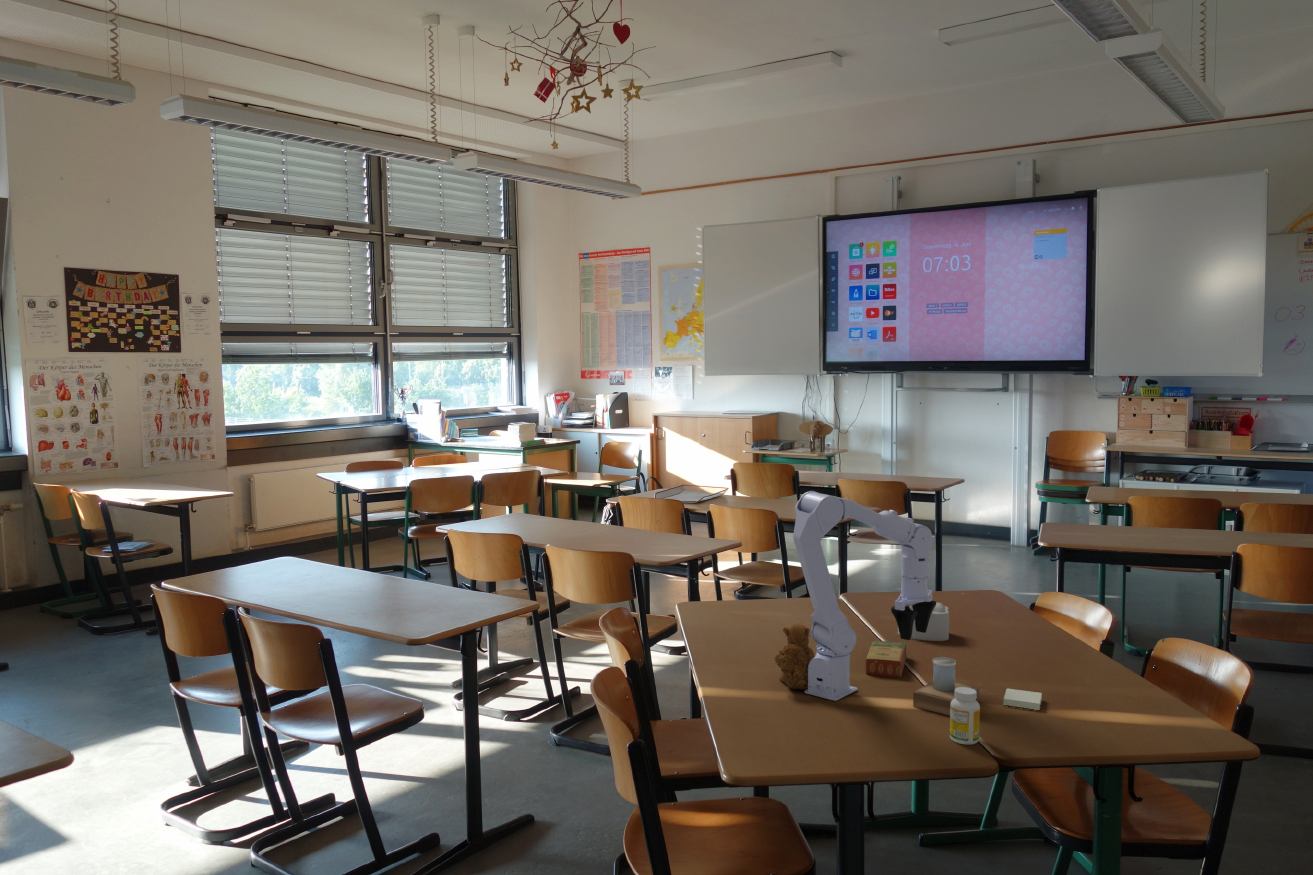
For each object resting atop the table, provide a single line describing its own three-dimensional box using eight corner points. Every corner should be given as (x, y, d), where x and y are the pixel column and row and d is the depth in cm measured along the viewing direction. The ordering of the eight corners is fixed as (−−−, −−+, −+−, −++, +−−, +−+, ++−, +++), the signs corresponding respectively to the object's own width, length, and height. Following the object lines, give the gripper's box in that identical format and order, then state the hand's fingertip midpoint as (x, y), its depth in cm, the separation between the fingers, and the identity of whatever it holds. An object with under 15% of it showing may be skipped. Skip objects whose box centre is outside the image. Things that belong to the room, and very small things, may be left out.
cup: (949, 693, 193) (949, 665, 193) (928, 688, 196) (928, 660, 196) (959, 687, 197) (959, 659, 196) (938, 682, 200) (938, 655, 199)
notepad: (1039, 712, 192) (1039, 703, 192) (1003, 707, 195) (1003, 698, 195) (1041, 701, 198) (1041, 692, 198) (1006, 697, 201) (1006, 688, 201)
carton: (864, 675, 216) (864, 657, 216) (871, 655, 231) (871, 638, 231) (901, 678, 213) (901, 660, 213) (906, 658, 228) (906, 641, 228)
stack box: (954, 716, 189) (954, 701, 189) (913, 706, 195) (913, 691, 195) (978, 700, 198) (978, 686, 198) (938, 691, 204) (938, 677, 204)
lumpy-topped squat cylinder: (949, 641, 241) (949, 609, 240) (897, 638, 245) (897, 605, 244) (947, 631, 251) (948, 599, 250) (898, 627, 255) (898, 596, 254)
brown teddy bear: (824, 676, 215) (825, 620, 214) (815, 696, 201) (816, 636, 200) (781, 672, 218) (781, 616, 217) (770, 692, 204) (770, 633, 203)
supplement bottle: (956, 745, 174) (957, 695, 174) (945, 734, 180) (945, 686, 179) (984, 744, 175) (985, 694, 174) (971, 733, 180) (972, 685, 179)
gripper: (916, 584, 201) (915, 645, 202) (945, 573, 212) (944, 631, 213) (886, 579, 206) (885, 639, 207) (916, 569, 217) (915, 626, 218)
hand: (913, 635), depth 210 cm, fingers open, 7 cm apart
